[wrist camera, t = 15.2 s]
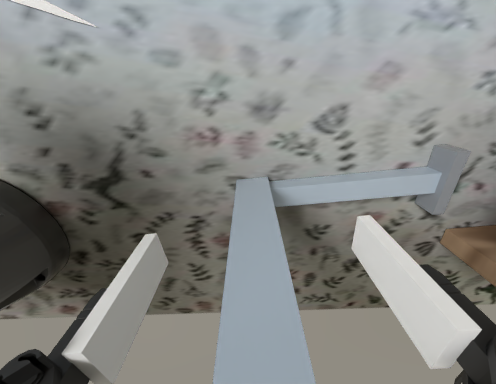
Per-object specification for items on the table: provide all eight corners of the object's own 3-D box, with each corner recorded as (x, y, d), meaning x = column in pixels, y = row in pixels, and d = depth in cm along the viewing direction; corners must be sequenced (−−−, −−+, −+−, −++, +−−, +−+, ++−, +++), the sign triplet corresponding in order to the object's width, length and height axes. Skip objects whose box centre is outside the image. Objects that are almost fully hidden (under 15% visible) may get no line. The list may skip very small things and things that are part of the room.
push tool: (242, 217, 21) (231, 483, 7) (234, 165, 18) (189, 430, 4) (424, 201, 20) (847, 469, 6) (446, 144, 17) (1341, 388, 3)
